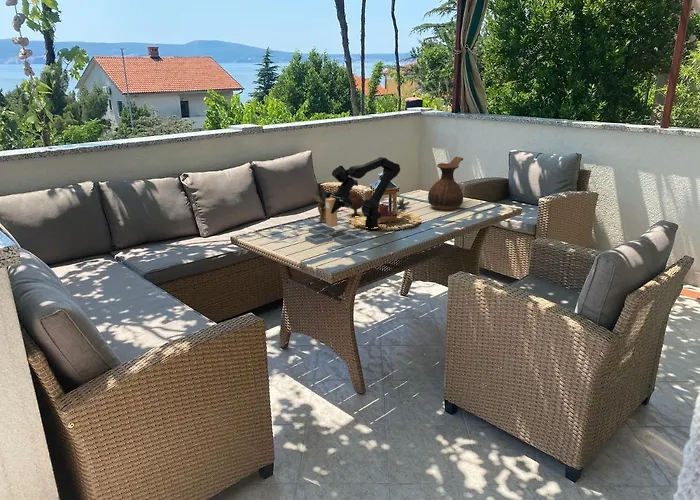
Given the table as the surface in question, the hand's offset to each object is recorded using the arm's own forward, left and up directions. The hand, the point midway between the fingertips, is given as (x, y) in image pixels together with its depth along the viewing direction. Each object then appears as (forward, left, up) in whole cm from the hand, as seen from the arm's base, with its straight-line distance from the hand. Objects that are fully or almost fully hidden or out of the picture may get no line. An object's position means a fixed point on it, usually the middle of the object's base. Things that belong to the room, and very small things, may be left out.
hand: (329, 212), depth 282 cm
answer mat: (-3, -4, -14) cm, 15 cm away
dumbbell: (-26, -61, -14) cm, 68 cm away
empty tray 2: (-11, +6, -14) cm, 18 cm away
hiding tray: (+5, +5, -14) cm, 15 cm away
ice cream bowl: (-3, -46, -14) cm, 49 cm away
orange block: (-1, -1, -7) cm, 7 cm away
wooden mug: (+12, -31, -14) cm, 36 cm away
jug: (-54, -71, -14) cm, 91 cm away
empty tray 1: (+7, -10, -14) cm, 18 cm away
